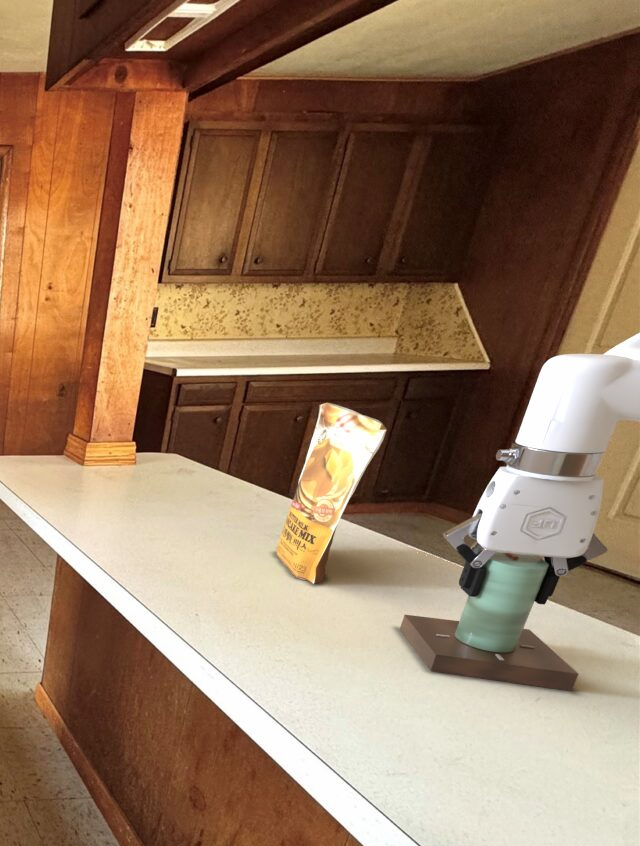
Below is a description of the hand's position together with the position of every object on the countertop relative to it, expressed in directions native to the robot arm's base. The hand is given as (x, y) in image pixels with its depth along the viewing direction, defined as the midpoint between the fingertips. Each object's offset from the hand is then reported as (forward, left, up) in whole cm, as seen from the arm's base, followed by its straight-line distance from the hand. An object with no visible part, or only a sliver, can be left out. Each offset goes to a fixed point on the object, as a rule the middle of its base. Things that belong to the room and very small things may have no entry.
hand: (501, 594), depth 86 cm
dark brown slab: (0, 0, -9) cm, 9 cm away
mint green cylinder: (0, 0, -7) cm, 7 cm away
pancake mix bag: (+15, -28, -10) cm, 33 cm away
